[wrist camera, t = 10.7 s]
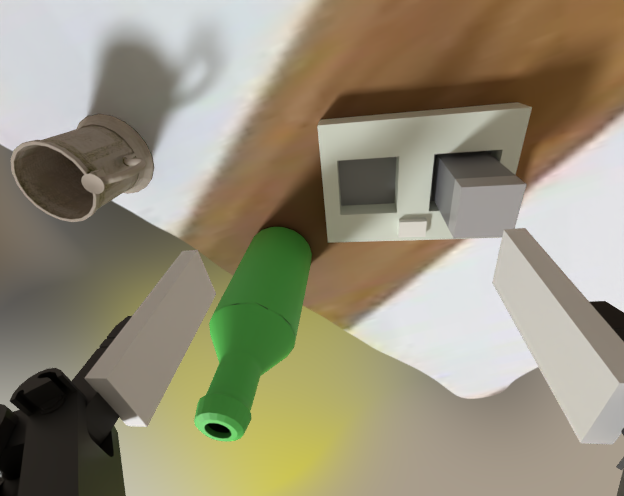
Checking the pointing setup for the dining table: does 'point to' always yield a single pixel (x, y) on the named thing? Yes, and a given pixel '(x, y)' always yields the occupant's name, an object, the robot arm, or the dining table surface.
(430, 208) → the socket plate
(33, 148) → the mug
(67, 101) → the dining table surface
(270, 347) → the bottle
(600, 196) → the dining table surface
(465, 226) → the plug
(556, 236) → the dining table surface
